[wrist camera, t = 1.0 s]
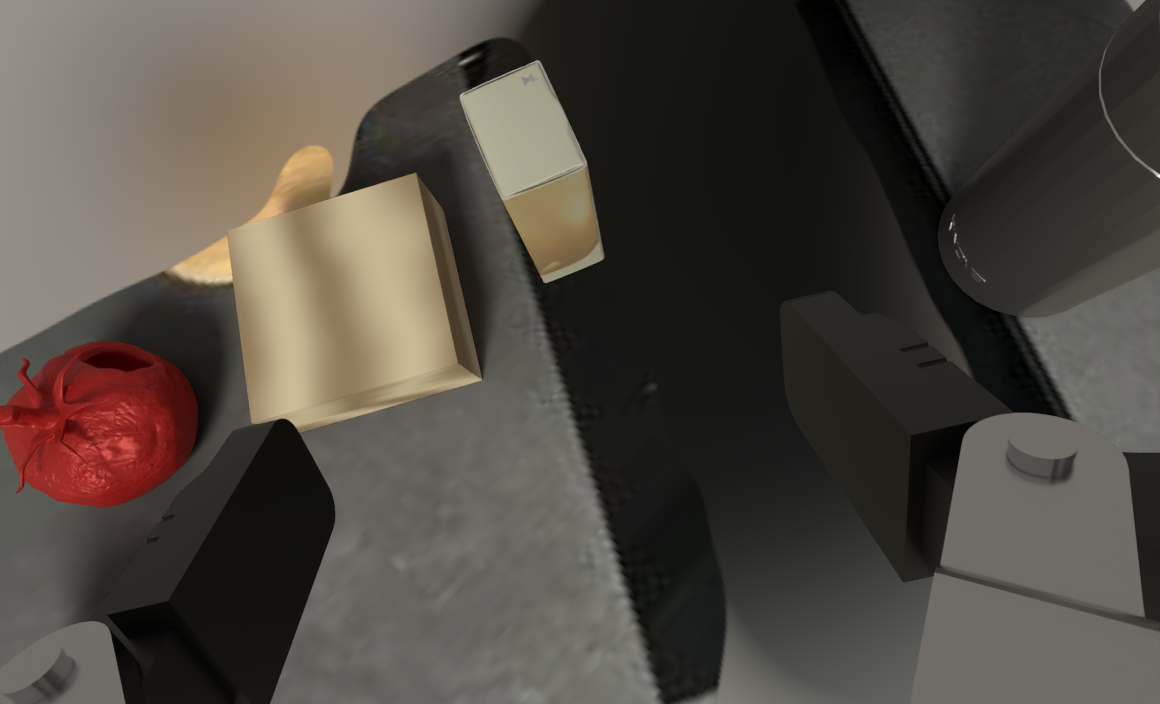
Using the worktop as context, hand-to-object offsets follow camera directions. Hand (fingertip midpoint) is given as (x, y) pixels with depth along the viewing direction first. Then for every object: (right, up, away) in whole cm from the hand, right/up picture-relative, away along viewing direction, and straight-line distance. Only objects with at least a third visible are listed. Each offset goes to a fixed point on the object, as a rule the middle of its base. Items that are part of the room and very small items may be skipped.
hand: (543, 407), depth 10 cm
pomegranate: (-27, -4, +31) cm, 41 cm away
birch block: (-13, +3, +30) cm, 33 cm away
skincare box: (-1, +8, +31) cm, 32 cm away
